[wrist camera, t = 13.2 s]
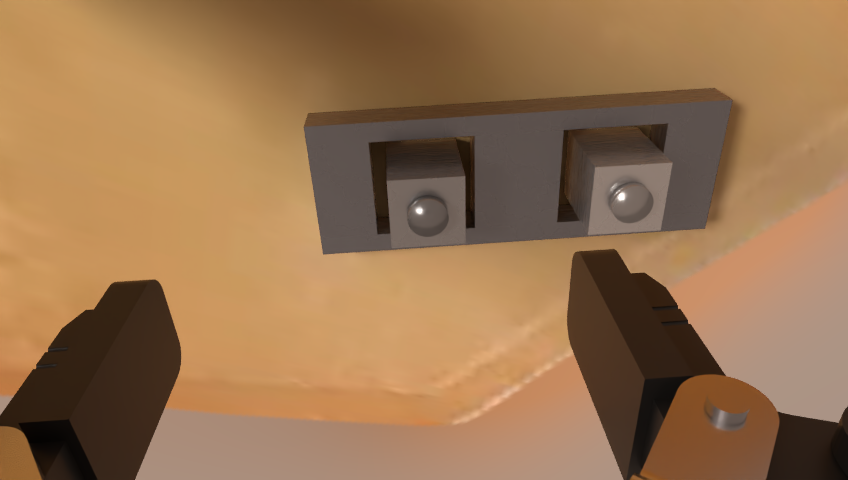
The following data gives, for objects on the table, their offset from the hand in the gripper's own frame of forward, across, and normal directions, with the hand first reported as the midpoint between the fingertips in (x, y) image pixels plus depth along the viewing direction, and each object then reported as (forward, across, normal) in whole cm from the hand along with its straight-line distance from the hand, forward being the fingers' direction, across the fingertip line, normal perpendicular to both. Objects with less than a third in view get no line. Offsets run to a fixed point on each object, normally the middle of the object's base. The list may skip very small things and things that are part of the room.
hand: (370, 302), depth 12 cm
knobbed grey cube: (+28, -2, +10) cm, 30 cm away
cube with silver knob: (+28, -14, +10) cm, 33 cm away
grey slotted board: (+28, -8, +10) cm, 31 cm away
